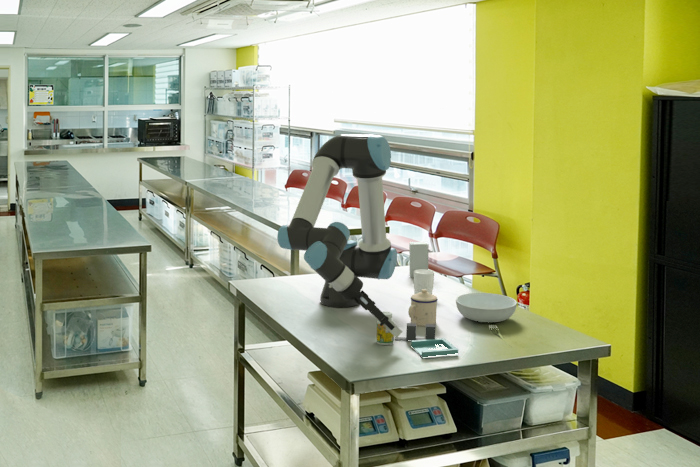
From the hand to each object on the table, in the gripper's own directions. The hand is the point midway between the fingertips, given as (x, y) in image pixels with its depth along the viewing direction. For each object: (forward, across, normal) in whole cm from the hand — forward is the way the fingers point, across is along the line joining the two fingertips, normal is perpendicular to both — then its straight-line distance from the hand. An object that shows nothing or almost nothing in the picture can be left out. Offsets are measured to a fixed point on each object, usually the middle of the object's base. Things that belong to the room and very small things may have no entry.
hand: (392, 328), depth 222 cm
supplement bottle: (+2, 0, -5) cm, 5 cm away
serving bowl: (+31, -17, +24) cm, 43 cm away
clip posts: (+10, 0, +3) cm, 11 cm away
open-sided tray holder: (+10, +11, +4) cm, 15 cm away
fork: (+29, +4, +22) cm, 36 cm away
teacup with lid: (+14, -17, +8) cm, 23 cm away
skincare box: (+31, -84, +24) cm, 93 cm away
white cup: (+24, -50, +17) cm, 58 cm away
